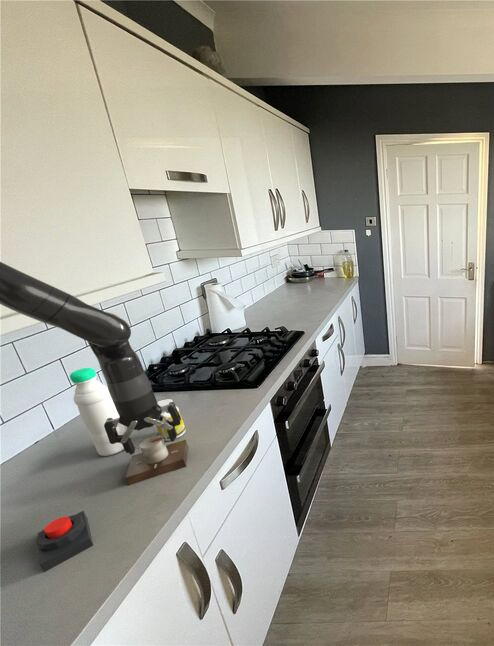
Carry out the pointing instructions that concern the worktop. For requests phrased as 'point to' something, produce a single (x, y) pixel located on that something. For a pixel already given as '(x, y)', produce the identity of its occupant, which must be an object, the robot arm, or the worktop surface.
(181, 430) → the pill bottle
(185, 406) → the worktop surface
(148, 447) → the dimmer knob
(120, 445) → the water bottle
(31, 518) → the worktop surface
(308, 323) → the worktop surface
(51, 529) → the light button
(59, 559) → the switch block
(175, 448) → the dimmer panel
